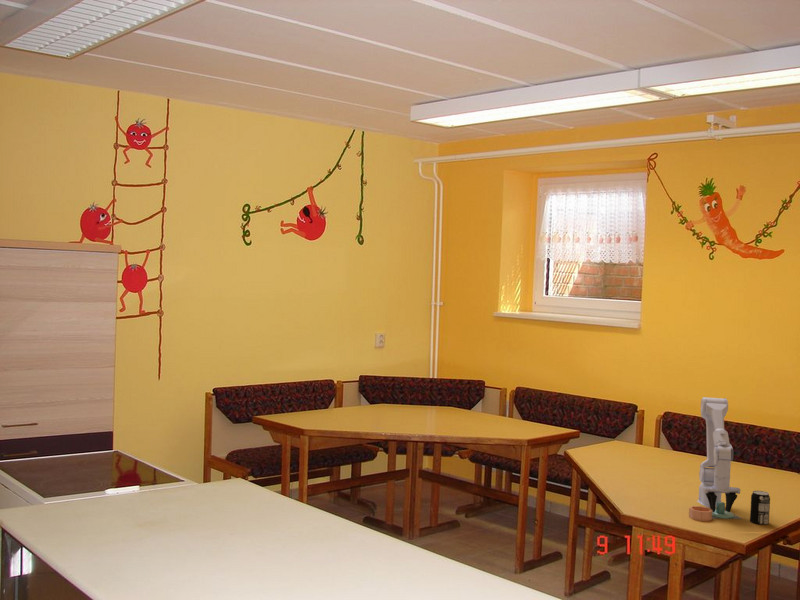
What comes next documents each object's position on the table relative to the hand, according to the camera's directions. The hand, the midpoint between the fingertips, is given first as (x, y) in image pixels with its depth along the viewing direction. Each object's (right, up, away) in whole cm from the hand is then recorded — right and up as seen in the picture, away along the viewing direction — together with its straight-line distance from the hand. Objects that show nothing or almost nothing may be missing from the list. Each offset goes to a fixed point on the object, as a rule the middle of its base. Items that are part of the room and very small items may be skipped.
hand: (720, 511), depth 318 cm
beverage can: (+12, -3, -8) cm, 14 cm away
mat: (0, -2, +2) cm, 3 cm away
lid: (0, -1, 0) cm, 1 cm away
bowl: (-10, -2, -5) cm, 11 cm away
